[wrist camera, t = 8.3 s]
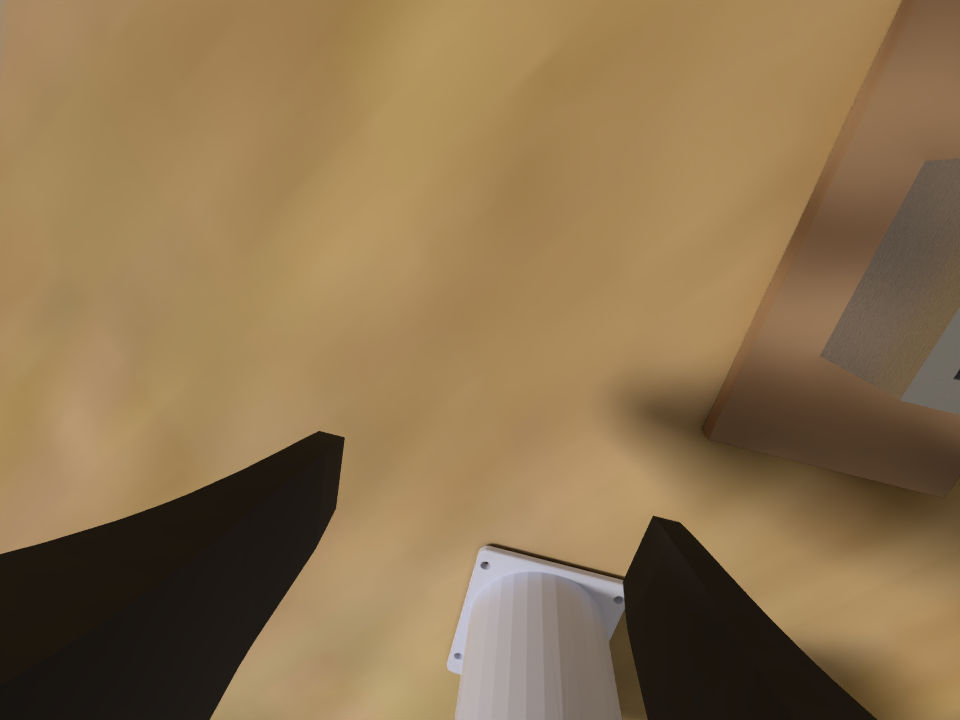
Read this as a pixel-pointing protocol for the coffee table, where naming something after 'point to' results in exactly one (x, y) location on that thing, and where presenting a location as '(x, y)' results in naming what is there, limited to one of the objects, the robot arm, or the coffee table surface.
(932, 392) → the steel link
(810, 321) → the keeper board
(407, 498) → the coffee table surface
